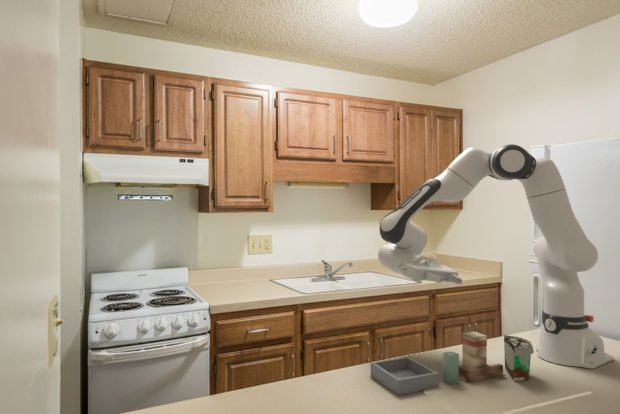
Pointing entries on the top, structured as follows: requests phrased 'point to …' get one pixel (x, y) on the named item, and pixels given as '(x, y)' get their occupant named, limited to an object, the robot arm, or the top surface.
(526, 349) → the food container
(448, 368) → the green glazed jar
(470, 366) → the birch block
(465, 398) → the top surface
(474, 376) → the walnut rack
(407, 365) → the grey tray
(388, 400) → the top surface
